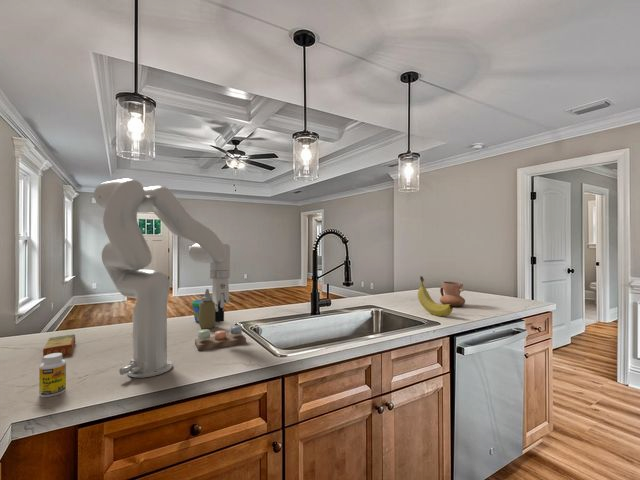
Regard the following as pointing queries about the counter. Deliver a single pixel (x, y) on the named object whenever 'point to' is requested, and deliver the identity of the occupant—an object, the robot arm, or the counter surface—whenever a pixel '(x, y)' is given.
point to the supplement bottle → (52, 375)
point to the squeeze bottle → (207, 312)
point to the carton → (60, 345)
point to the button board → (220, 342)
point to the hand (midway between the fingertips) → (219, 321)
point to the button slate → (236, 329)
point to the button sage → (203, 334)
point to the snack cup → (196, 308)
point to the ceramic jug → (452, 294)
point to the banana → (432, 302)
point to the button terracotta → (220, 335)
